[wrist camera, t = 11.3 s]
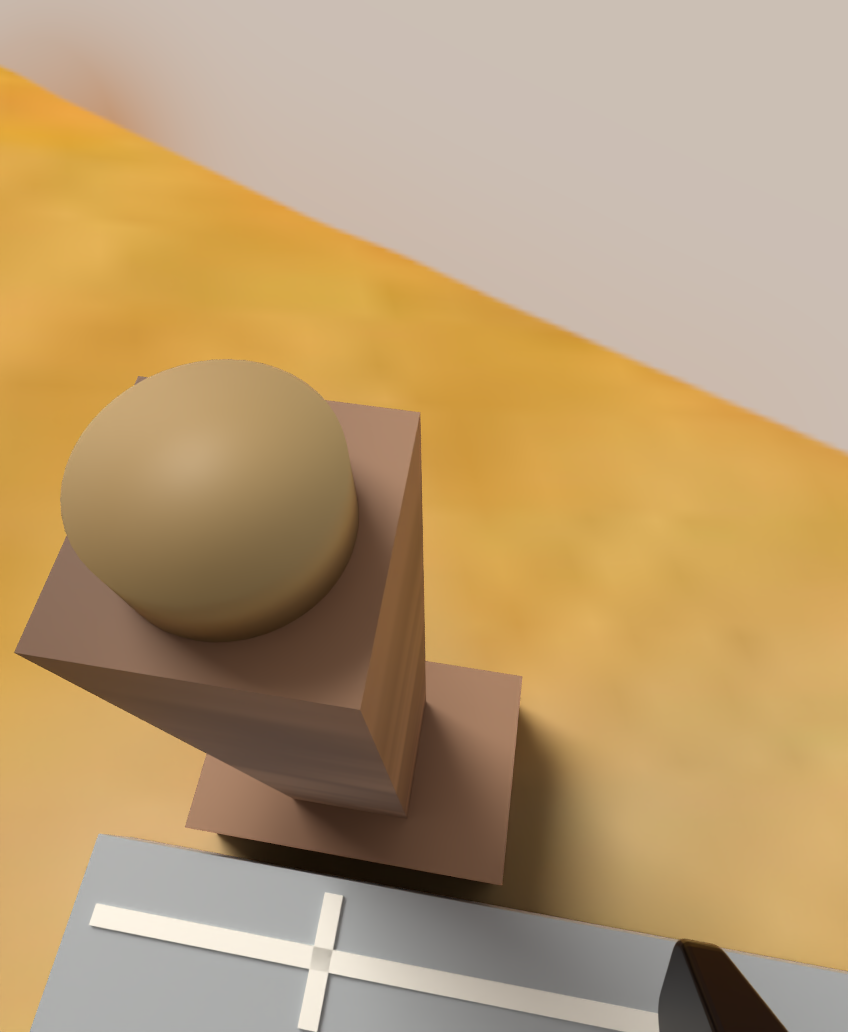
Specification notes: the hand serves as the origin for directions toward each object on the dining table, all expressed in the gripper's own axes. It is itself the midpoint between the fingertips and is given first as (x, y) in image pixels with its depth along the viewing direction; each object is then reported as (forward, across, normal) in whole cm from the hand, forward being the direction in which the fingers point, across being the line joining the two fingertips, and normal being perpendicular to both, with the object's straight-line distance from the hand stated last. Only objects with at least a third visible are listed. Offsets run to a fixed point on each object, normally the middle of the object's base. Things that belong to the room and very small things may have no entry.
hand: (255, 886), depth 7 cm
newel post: (+9, 0, +5) cm, 11 cm away
